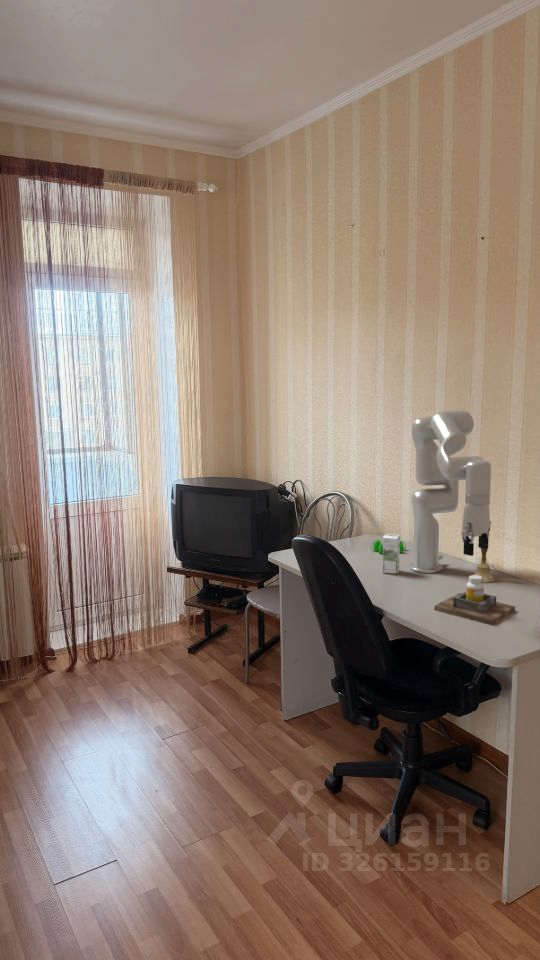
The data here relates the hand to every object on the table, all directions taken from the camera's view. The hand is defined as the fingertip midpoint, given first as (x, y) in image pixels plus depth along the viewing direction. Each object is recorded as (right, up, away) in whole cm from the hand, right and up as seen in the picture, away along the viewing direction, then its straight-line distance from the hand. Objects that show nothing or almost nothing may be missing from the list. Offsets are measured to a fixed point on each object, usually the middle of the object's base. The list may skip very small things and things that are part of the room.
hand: (475, 551), depth 223 cm
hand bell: (+13, -14, +34) cm, 39 cm away
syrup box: (-19, -13, +46) cm, 51 cm away
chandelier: (-15, -8, +75) cm, 77 cm away
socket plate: (+1, -20, +3) cm, 20 cm away
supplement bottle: (0, -18, +3) cm, 18 cm away
